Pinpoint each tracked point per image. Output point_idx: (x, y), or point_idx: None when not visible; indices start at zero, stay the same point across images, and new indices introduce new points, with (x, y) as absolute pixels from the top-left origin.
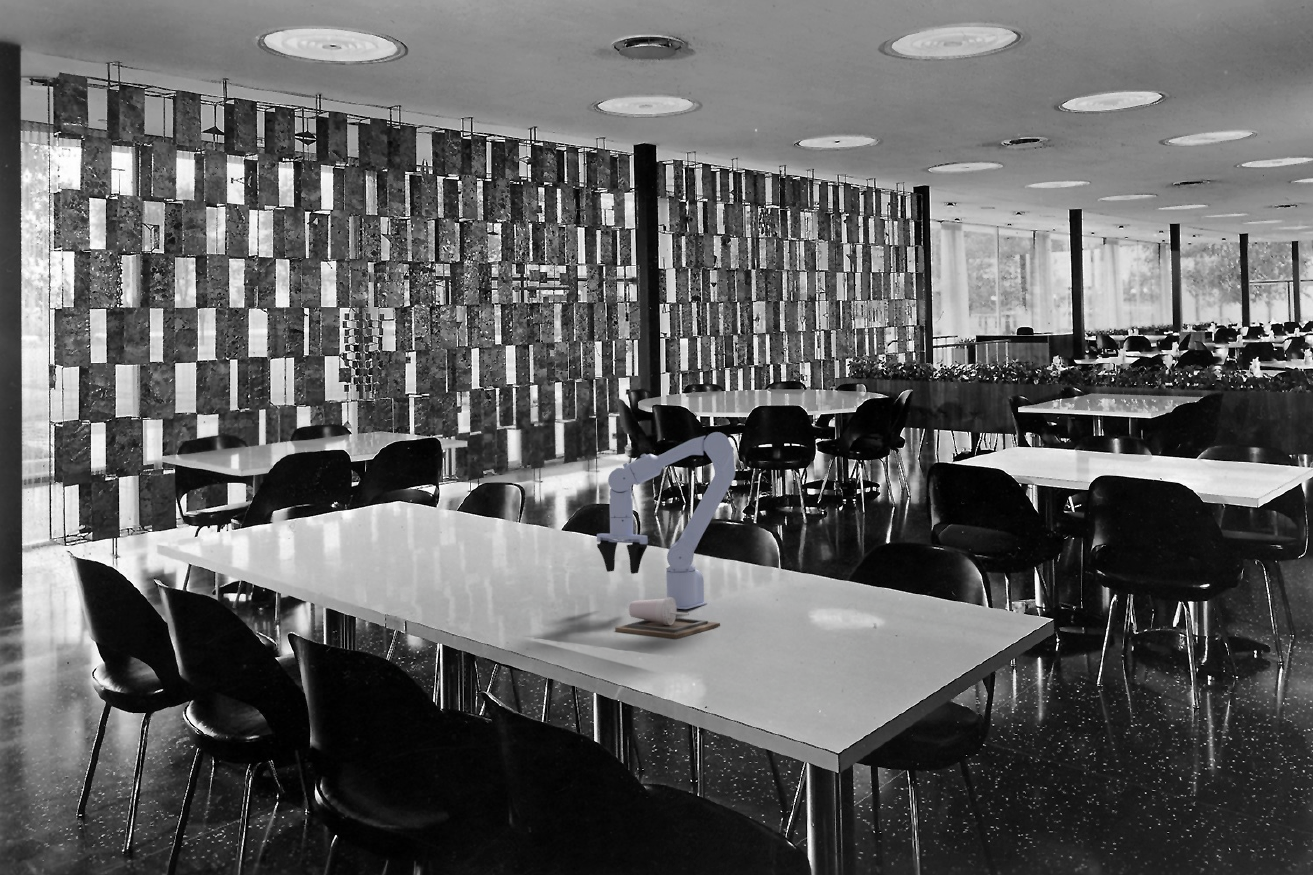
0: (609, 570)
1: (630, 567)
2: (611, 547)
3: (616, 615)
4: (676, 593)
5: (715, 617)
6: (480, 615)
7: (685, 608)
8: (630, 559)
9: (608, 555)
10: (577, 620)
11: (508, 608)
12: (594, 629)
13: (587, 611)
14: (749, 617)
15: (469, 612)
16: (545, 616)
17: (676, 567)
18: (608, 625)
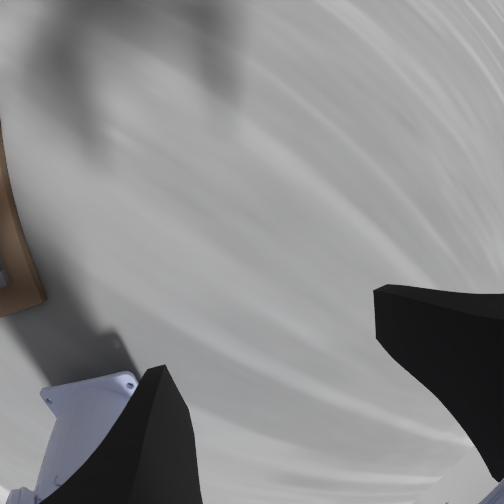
0: (378, 299)
1: (154, 386)
2: (501, 414)
3: (229, 234)
4: (60, 422)
5: (26, 416)
6: (454, 17)
7: (40, 391)
8: (134, 438)
9: (463, 346)
10: (245, 65)
11: (490, 110)
12: (62, 28)
13: (367, 207)
14: (8, 446)
15: (483, 39)
16: (377, 61)
17: (11, 490)
18: (75, 91)
